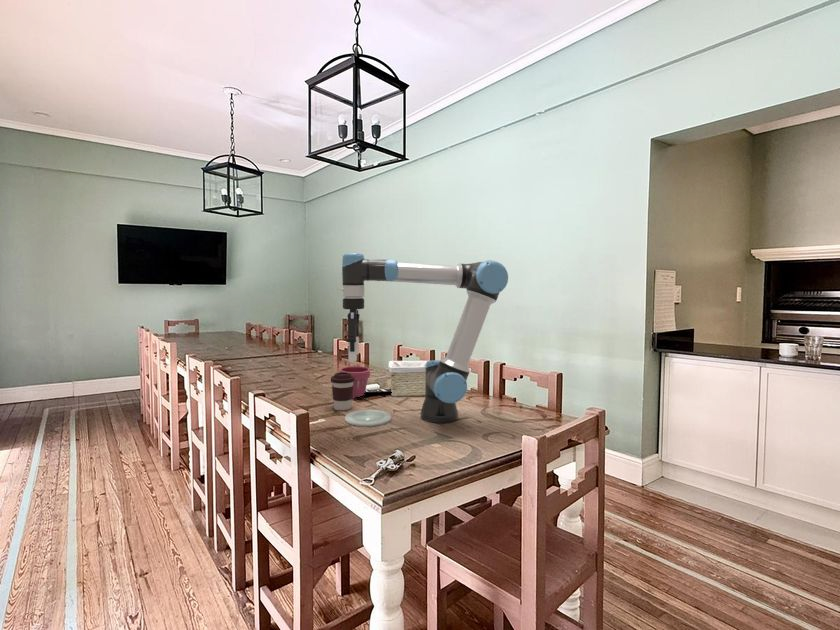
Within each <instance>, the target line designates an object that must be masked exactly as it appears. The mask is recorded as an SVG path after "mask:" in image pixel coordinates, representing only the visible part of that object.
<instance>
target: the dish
mask: <svg viewBox="0 0 840 630" xmlns="http://www.w3.org/2000/svg"><path fill="white" fill-rule="evenodd" d="M344 421H346V422H347V424H348V425H350V424H351V425H350V426H354V425H355V427H360V426H364V427H363V428H366V427H367V428H369V427H371V428H372V427H380V426H383V425H386V424H388V423H390V422H391V421H392V415H391V414H390V413H389V412H387V411H385V410H379V409H359V410H354V411H351V412H348V413H347V414H345V416H344ZM346 422H345V423H346Z"/></svg>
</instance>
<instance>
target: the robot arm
mask: <svg viewBox="0 0 840 630" xmlns="http://www.w3.org/2000/svg"><path fill="white" fill-rule="evenodd" d="M341 260H342V261H341V262H342V263H341V265H342V266H341V268H342V269H341V270H342V271H341V272H342V273H341V276H342V277H341V278H342V288H341V289H340V291H341V292H342V297H343V299H342V309H344V310H349V312H348V313H347V326H348V328H347V329H348V332H347V335H348V336H347V339H346V341H345V342H346V343H348V344H347V345H348V347H347V348H348V354H347V355H348V358H347V359H348V360H347V361H348V362H357V361H358V360H357V358H358V356H357V355H360V337H361V335H362V334H361V333H360V331H359V330H360V329H359V325H360V313H359V310H364V309H365V298H364V297H365V281H366V282H369V281H370V282H371V281H372V282H393V283H394V282H395V283H414V284H428V285H430V284H431V285H446V286H447V285H448V286H455V287H456V288H457V289H466V290H465V291H466V294H467V296H468V297H467V300H466V302H465V306H464V308H463V310H462V313H461V316H460V318H459V321H458V324H457V327H456V328H455V332H454V333H453V337H452V340H451V342H450V345H449V348H448V349H447V352H446V355H445V357H444V358H441V359H439V360H438V359H435V360H426V361H427V362H426V367H425V370H426V376H425V396H424V400H423V404H422V407H421V409H420V418H421V419H422V420H424V421H426V422H431V423H436V424H437V423H439V424H441V423H442V424H443V423H451V422H455V421H457V420H458V419H459V410H458V409H457V404H456V403H457V402H460V401H461V400H462V399H463V398H464V397H465V395H466V394H467V391H468V382H467V380H468V377H469V374H470V372H471V371H470V368H469V363H470V359H471V357H472V355H473V352H474V350H475V347H476V344H477V341H478V338H479V337H480V334H481V330H482V329H483V325H484V323H485V320H486V318H487V315H488V312H489V310H490V306H492V305H493V304H494V303H496V302H497V300H498V297H499V295H500V293H501V292H502V291H503V290H505V289H506V287H507V285H508V282H509V273H508V270H507V269H506V267H505V266H504V264H503V263H501V262H498V261H496V260H490V259H488V260H484V261H478V262H471V263H458V264H457V265H446V264H445V265H444V264H431V263H416V262H415V263H413V262H412V263H411V262H400V261H399V262H398V261H397V260H396V259H388V258H387V259H365V255H364V254H363V253H359V252H358V253H356V252H355V253H354V252H352V253H351V252H349V253H344V254H343V255H342V259H341Z"/></svg>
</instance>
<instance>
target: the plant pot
mask: <svg viewBox="0 0 840 630" xmlns="http://www.w3.org/2000/svg"><path fill="white" fill-rule="evenodd" d="M339 372H348V373H351V376H354V382H353V397H352V399H356V398H355V397H360V396H363V395H364V396H365V394H366V389H367V386H368V381H369V380H368V379H370V376H371V370H370V368H369V367H366V366H358V365H357V366H352V365H351V366H344V367H342V368H339ZM364 393H365V394H364ZM364 396H363V397H364ZM360 398H361V397H360Z"/></svg>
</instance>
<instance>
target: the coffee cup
mask: <svg viewBox="0 0 840 630" xmlns="http://www.w3.org/2000/svg"><path fill="white" fill-rule="evenodd" d="M330 382H331V393H332V400H333V408H334V410H336V411H341V412H342V411H348V410H350V409H352V404H353V403H352V402H353V398H352V397H353V382H354V376H351V373H348V372H340V371H339V372H335V373H334V374H333V376H331V377H330Z"/></svg>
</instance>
